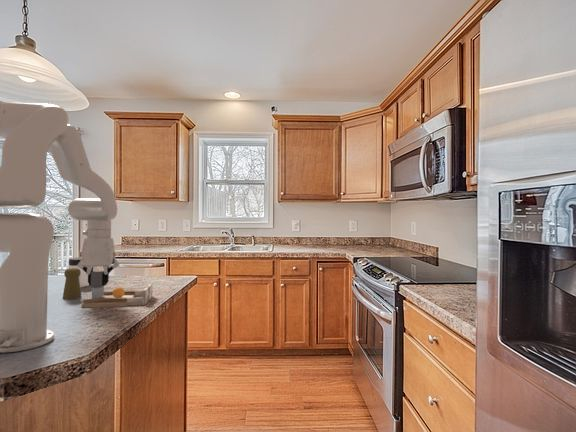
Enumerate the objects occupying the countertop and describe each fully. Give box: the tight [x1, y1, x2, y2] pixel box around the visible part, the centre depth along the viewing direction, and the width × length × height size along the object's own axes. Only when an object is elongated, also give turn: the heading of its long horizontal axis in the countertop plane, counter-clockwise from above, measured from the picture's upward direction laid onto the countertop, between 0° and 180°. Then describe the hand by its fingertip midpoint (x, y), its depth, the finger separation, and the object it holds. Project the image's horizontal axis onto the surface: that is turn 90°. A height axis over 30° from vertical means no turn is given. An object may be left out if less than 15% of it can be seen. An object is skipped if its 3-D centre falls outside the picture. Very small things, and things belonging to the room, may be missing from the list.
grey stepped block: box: [90, 270, 105, 299], centre depth 120 cm, size 7×4×9 cm, turn 11°
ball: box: [112, 286, 126, 298], centre depth 122 cm, size 4×4×4 cm
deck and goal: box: [81, 283, 153, 308], centre depth 122 cm, size 14×20×5 cm
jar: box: [67, 256, 90, 288], centre depth 146 cm, size 9×8×12 cm
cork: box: [62, 268, 82, 300], centre depth 126 cm, size 6×6×11 cm
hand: (98, 284), depth 120 cm, fingers closed on grey stepped block, 3 cm apart
